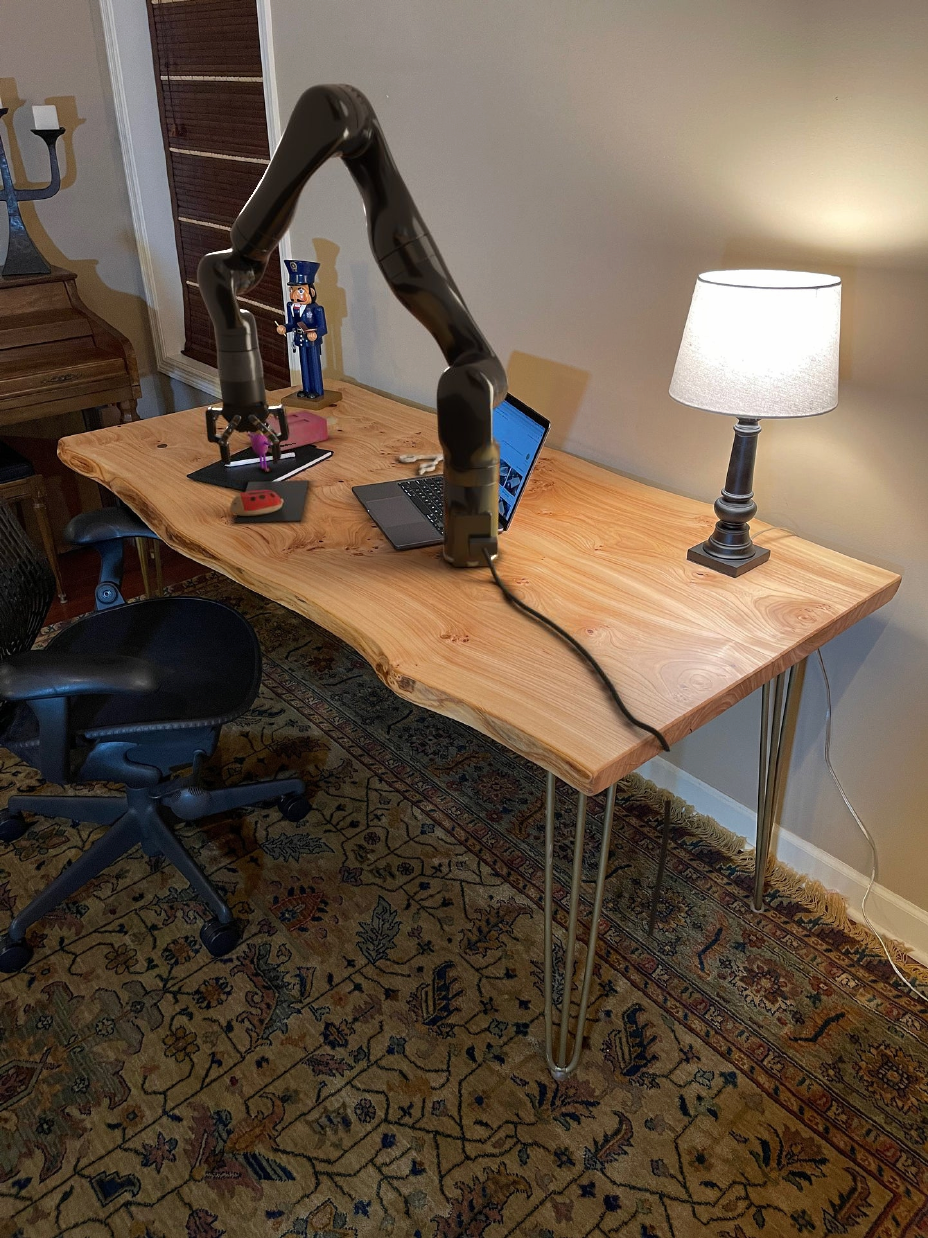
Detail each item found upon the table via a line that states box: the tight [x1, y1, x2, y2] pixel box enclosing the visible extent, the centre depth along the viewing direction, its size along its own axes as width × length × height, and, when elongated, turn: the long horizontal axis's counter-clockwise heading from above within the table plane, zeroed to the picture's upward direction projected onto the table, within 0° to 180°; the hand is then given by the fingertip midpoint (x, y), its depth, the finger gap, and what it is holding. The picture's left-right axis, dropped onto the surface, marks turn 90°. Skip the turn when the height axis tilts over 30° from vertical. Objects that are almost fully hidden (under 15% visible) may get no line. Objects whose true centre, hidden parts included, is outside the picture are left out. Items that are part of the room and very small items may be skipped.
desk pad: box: [233, 480, 310, 524], centre depth 174 cm, size 20×12×1 cm, turn 4°
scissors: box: [398, 452, 443, 476], centre depth 195 cm, size 11×1×20 cm
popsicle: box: [249, 409, 339, 454], centre depth 205 cm, size 9×5×20 cm
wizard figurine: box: [245, 430, 271, 473], centre depth 185 cm, size 11×3×12 cm, turn 41°
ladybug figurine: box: [229, 490, 283, 516], centre depth 168 cm, size 7×10×4 cm
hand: (252, 463), depth 164 cm, fingers open, 8 cm apart
